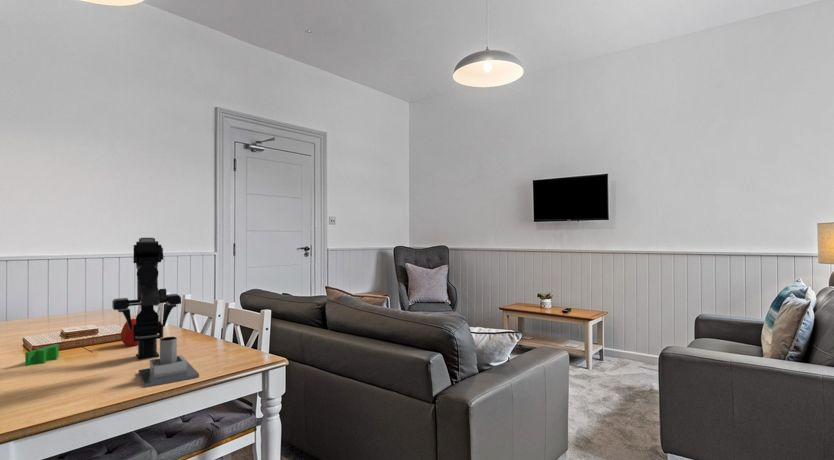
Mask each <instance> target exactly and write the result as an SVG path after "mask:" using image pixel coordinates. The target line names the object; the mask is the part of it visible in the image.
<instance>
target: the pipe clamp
mask: <svg viewBox="0 0 834 460" xmlns="http://www.w3.org/2000/svg"><path fill="white" fill-rule="evenodd" d="M59 345H60V344H58V343H55V344H52V345H48V346H45V347H41V348H38V349H35V350H29V351H27V352H25V359H24V360H25V361H24V364H25V367H27V366H28V367H30V366H33V365H36V364H46V363H47V361H55V360H58V359H59Z"/></svg>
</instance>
